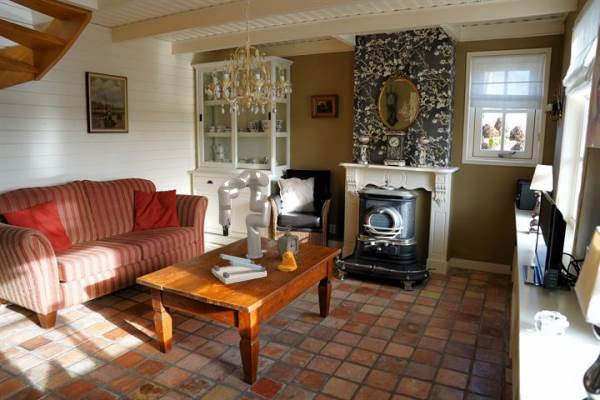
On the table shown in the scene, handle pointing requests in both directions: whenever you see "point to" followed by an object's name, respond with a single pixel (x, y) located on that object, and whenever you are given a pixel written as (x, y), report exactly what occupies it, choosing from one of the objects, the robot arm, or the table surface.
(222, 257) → the lever
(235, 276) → the board
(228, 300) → the table surface
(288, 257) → the bracket
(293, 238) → the tabletop clock
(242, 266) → the lever
